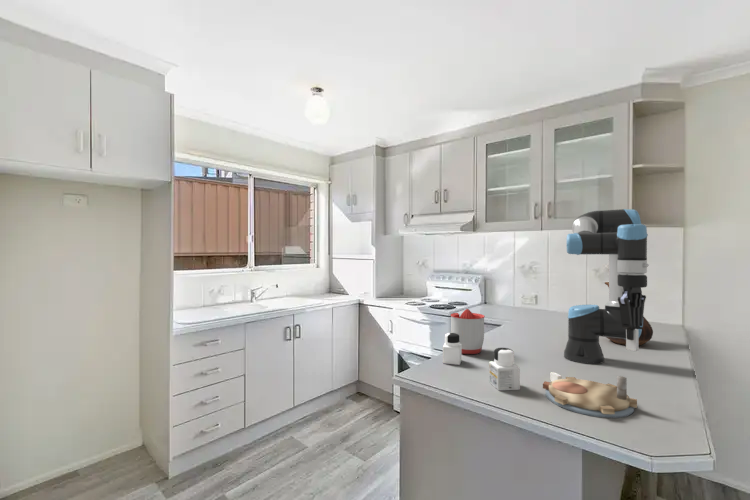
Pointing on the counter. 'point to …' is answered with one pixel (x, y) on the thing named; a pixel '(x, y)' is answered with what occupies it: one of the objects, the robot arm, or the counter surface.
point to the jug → (645, 333)
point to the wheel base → (581, 410)
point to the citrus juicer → (469, 331)
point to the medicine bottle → (452, 349)
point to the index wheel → (591, 394)
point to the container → (504, 370)
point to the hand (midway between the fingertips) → (632, 349)
